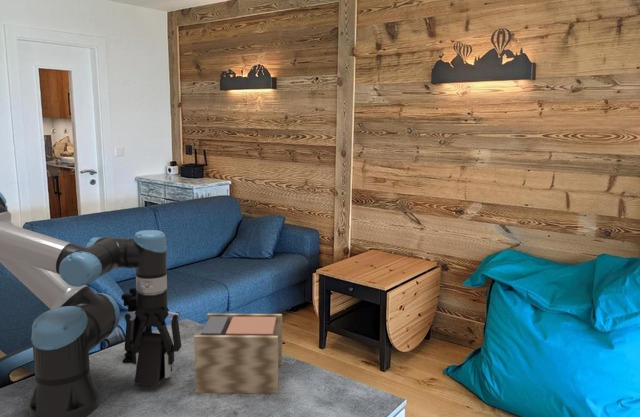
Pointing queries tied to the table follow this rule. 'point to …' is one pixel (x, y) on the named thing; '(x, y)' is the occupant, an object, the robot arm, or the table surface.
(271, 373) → the frame
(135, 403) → the table surface
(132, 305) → the chess piece
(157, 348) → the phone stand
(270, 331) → the trapdoor
